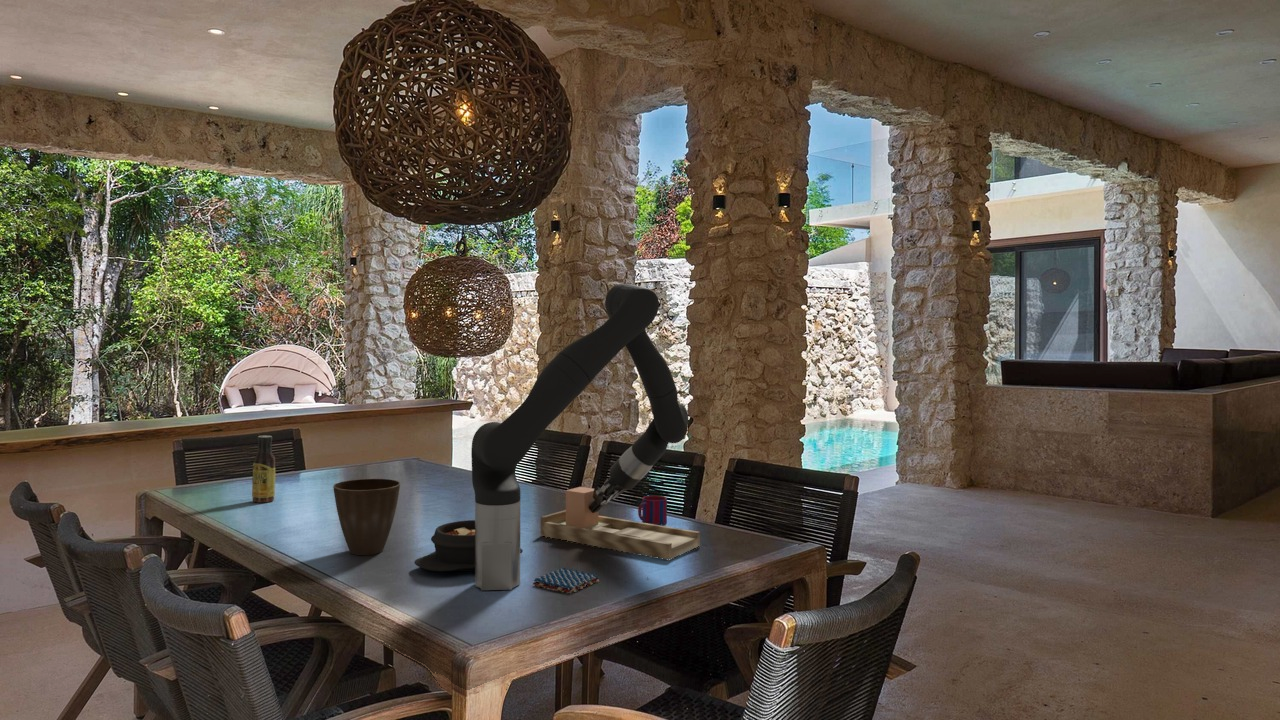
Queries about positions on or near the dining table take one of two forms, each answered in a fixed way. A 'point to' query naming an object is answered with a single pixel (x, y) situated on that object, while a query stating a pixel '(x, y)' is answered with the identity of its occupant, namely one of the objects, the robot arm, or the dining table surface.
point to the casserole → (452, 548)
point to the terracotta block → (580, 508)
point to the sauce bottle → (263, 472)
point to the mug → (653, 510)
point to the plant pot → (366, 512)
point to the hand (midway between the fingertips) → (592, 509)
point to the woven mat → (565, 580)
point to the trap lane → (623, 535)
